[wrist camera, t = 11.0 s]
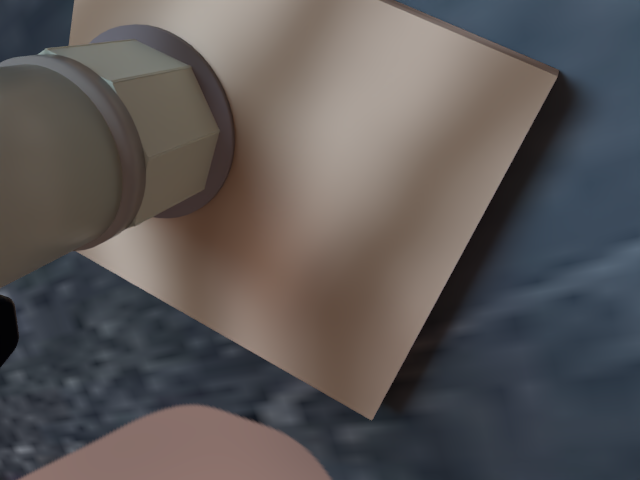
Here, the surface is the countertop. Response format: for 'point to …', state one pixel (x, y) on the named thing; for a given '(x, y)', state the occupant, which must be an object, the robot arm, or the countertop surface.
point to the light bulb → (94, 147)
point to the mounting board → (324, 174)
